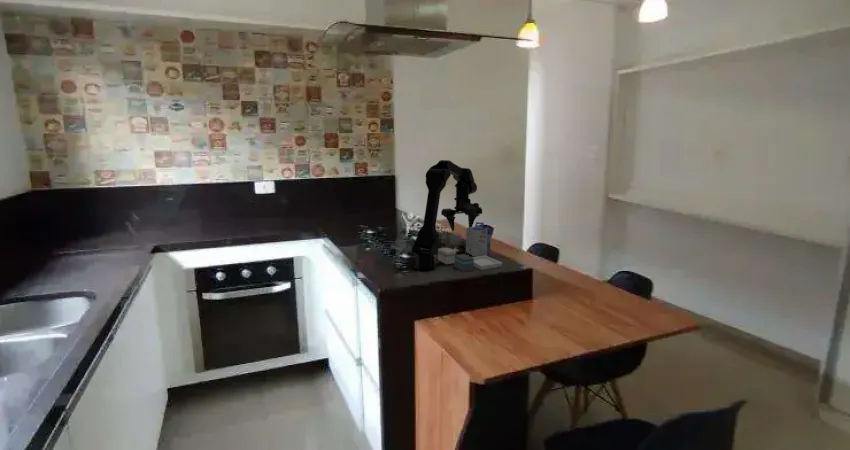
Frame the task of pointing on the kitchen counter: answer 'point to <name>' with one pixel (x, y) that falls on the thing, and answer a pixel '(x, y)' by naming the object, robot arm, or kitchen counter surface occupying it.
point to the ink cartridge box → (478, 240)
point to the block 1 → (446, 255)
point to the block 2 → (464, 262)
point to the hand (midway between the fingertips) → (461, 229)
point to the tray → (486, 263)
